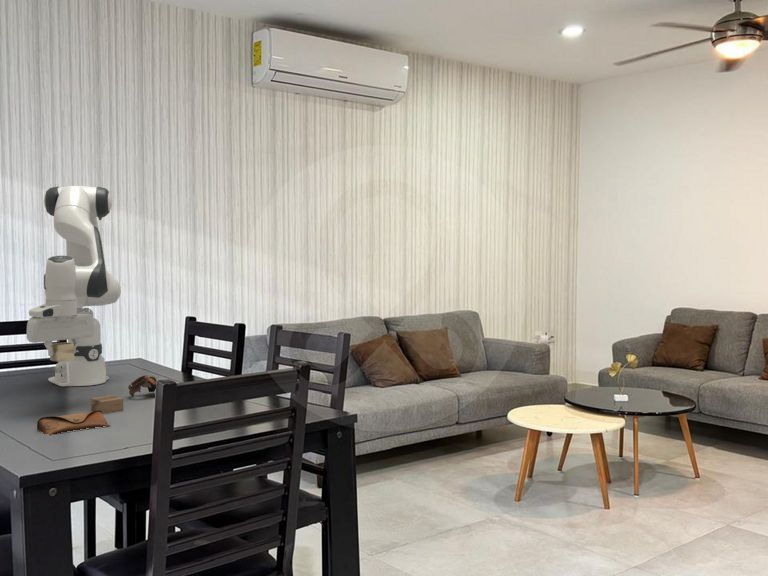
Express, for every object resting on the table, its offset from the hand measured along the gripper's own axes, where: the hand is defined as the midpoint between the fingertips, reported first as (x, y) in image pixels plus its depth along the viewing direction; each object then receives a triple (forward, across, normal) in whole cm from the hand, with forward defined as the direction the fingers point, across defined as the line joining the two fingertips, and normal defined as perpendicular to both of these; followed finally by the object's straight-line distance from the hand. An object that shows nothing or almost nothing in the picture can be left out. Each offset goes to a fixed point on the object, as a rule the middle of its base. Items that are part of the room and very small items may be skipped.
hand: (62, 354), depth 232 cm
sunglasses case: (+18, +9, +23) cm, 31 cm away
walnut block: (+18, -9, +10) cm, 22 cm away
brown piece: (+18, -29, +1) cm, 34 cm away
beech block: (+2, 0, 0) cm, 2 cm away
